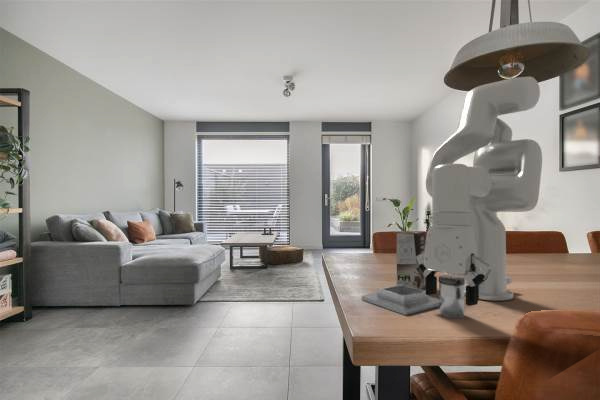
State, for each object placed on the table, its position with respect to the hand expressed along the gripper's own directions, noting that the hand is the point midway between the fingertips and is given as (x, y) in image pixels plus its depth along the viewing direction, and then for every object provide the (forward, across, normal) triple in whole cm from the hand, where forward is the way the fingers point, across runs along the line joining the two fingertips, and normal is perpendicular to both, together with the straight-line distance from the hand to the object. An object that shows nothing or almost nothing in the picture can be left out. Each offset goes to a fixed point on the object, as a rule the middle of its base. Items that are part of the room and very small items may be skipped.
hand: (450, 299), depth 73 cm
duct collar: (+3, -12, -1) cm, 13 cm away
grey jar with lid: (+3, 0, +1) cm, 3 cm away
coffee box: (+3, -21, +13) cm, 25 cm away
